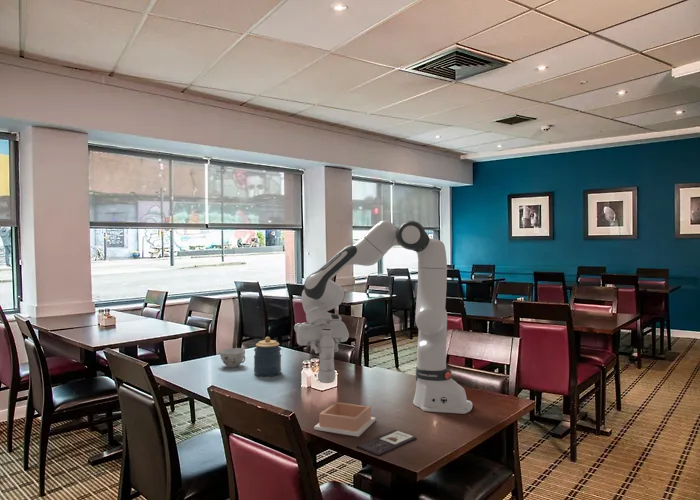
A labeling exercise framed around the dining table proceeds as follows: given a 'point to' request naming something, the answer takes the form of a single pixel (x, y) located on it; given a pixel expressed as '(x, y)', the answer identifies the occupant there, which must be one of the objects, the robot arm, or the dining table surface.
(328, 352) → the plastic bottle
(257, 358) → the canister
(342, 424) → the open square box
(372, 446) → the chocolate bar
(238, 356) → the teacup
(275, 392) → the dining table surface
